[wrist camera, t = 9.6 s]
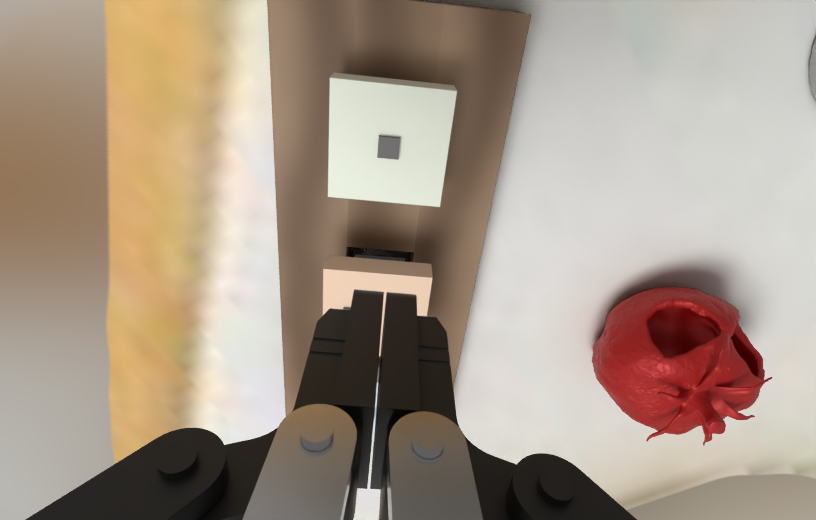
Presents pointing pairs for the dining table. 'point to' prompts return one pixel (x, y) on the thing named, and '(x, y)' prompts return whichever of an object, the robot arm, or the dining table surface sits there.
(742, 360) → the pomegranate
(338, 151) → the key one
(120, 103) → the dining table surface
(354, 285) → the key two
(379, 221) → the key board
